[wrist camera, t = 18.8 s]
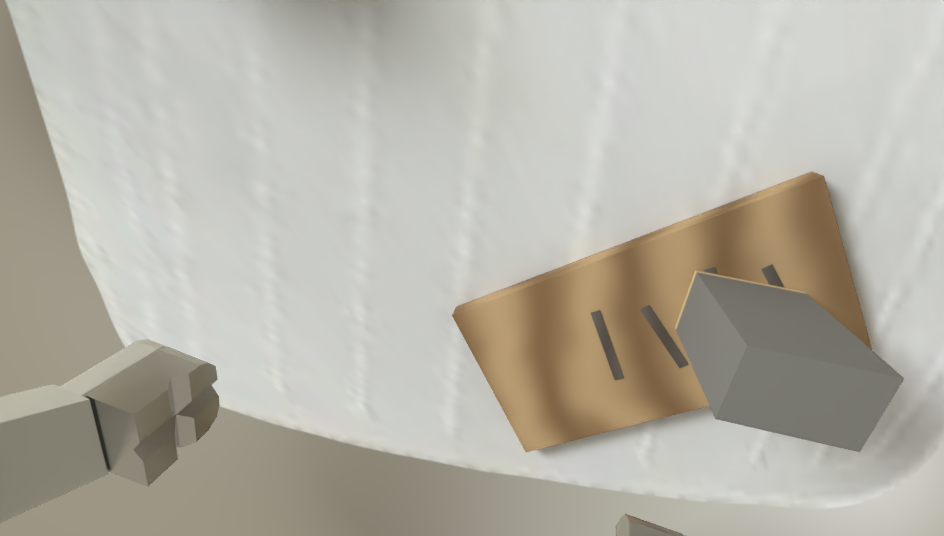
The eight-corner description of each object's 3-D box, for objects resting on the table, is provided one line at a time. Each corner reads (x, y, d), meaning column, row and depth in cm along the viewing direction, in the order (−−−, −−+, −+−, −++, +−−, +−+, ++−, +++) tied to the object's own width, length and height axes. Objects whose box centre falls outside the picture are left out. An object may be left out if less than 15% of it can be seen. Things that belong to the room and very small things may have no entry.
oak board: (811, 171, 30) (824, 176, 28) (863, 352, 33) (876, 364, 32) (456, 307, 38) (451, 315, 37) (527, 440, 41) (525, 452, 40)
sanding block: (674, 327, 33) (715, 418, 24) (695, 270, 32) (747, 345, 23) (777, 349, 33) (859, 451, 24) (804, 291, 31) (903, 378, 22)
